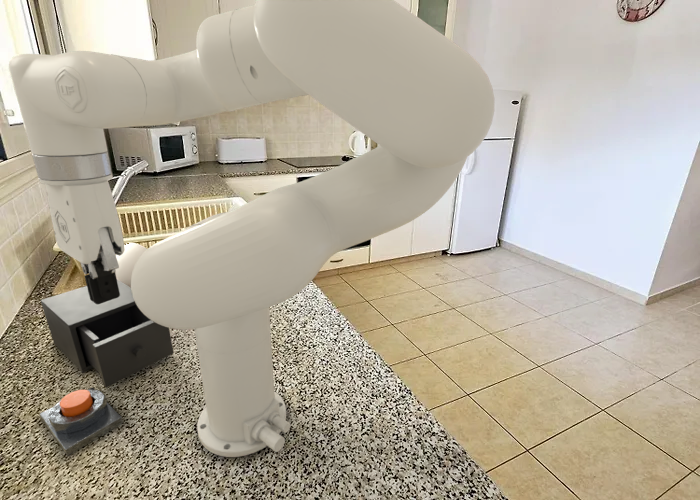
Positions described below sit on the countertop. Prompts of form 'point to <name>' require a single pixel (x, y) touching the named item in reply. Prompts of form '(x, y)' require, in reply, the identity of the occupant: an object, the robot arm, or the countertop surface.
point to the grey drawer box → (79, 318)
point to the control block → (81, 423)
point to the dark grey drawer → (123, 344)
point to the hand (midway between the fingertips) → (105, 298)
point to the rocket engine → (128, 262)
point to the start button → (76, 403)
